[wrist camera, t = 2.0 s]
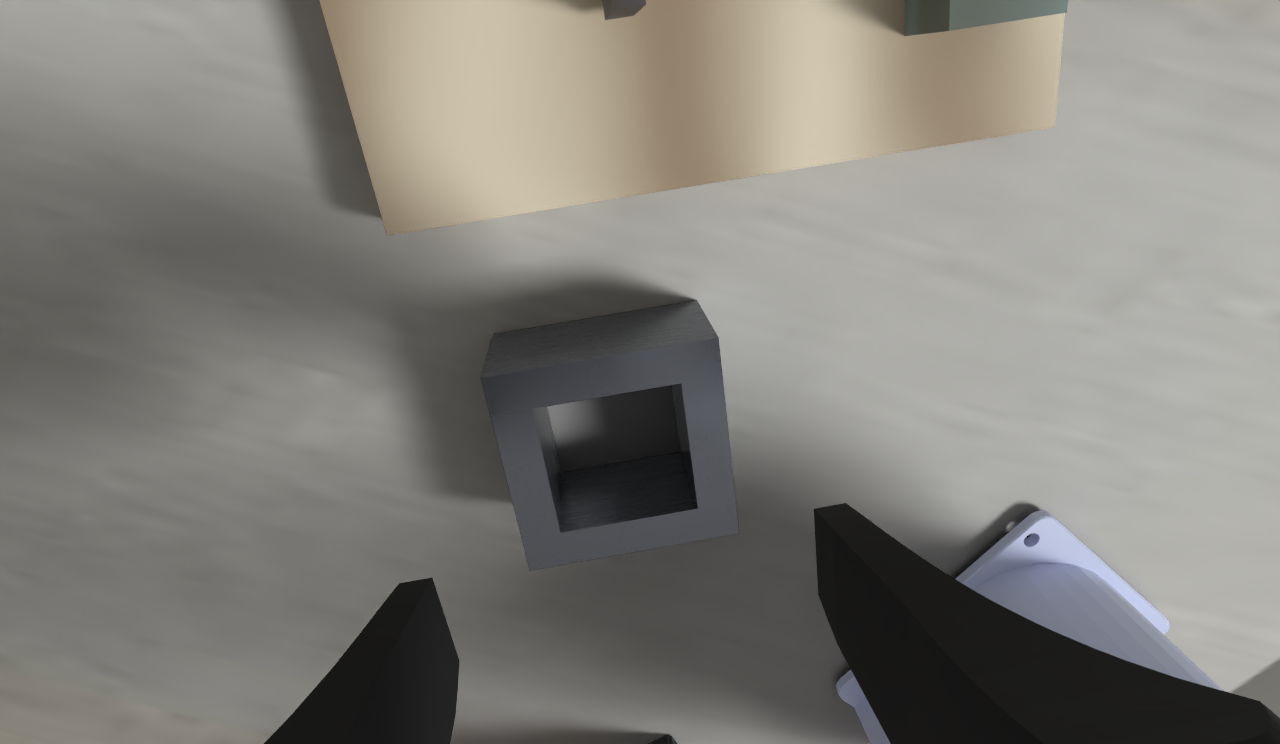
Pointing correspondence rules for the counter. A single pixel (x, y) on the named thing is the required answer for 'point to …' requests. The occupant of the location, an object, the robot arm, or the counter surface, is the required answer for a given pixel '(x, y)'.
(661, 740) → the ammunition clip
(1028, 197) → the counter surface
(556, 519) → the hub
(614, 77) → the stand
